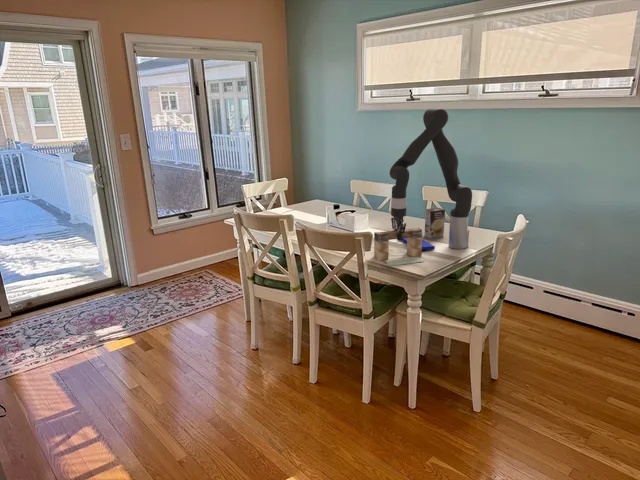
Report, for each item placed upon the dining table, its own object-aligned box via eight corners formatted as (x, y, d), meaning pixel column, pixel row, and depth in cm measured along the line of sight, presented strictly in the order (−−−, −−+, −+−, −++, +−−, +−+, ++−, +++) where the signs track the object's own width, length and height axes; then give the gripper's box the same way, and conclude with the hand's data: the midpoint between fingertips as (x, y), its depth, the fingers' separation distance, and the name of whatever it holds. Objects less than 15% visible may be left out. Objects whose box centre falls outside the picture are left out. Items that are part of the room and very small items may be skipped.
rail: (418, 234, 229) (418, 227, 228) (421, 236, 225) (421, 229, 224) (374, 239, 224) (374, 232, 222) (376, 241, 220) (376, 234, 219)
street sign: (417, 253, 233) (434, 250, 235) (417, 247, 232) (434, 245, 234) (391, 234, 265) (406, 233, 267) (391, 229, 264) (406, 228, 266)
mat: (417, 257, 225) (417, 256, 225) (424, 261, 219) (424, 261, 219) (384, 261, 221) (384, 260, 221) (389, 266, 215) (389, 265, 215)
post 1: (383, 255, 229) (383, 232, 226) (388, 260, 223) (388, 236, 219) (374, 256, 228) (374, 233, 225) (379, 261, 222) (379, 237, 218)
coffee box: (430, 238, 253) (431, 211, 249) (424, 235, 259) (425, 209, 254) (444, 236, 256) (445, 209, 251) (437, 233, 262) (439, 207, 257)
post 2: (415, 251, 233) (416, 229, 229) (421, 256, 227) (422, 232, 223) (406, 252, 232) (407, 230, 228) (412, 257, 226) (413, 233, 222)
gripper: (411, 208, 214) (410, 242, 219) (400, 202, 227) (399, 234, 232) (397, 210, 212) (396, 244, 217) (386, 203, 225) (385, 236, 231)
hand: (398, 239), depth 225 cm, fingers closed on rail, 3 cm apart
